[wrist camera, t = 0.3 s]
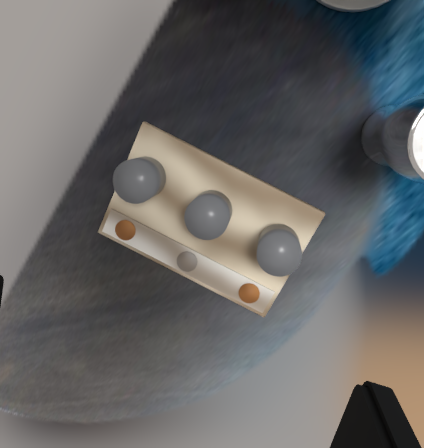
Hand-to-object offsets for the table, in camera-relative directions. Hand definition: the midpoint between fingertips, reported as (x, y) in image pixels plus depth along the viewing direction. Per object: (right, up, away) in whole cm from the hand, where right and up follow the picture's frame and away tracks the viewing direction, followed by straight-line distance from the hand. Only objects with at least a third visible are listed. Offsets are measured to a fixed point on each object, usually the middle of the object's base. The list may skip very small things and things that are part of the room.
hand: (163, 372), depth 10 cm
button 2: (+8, +2, +32) cm, 33 cm away
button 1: (-6, +9, +32) cm, 34 cm away
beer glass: (+20, +13, +30) cm, 38 cm away
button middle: (+1, +5, +32) cm, 33 cm away
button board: (+1, +4, +35) cm, 35 cm away
